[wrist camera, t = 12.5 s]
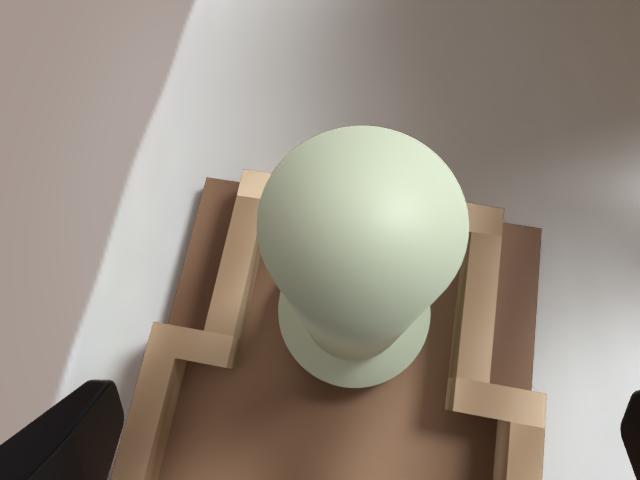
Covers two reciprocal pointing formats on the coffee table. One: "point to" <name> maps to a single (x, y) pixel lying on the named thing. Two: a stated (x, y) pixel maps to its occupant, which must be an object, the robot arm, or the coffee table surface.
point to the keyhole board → (326, 399)
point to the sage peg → (360, 250)
